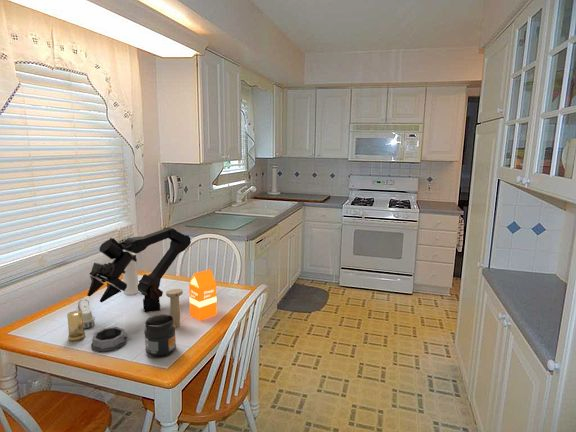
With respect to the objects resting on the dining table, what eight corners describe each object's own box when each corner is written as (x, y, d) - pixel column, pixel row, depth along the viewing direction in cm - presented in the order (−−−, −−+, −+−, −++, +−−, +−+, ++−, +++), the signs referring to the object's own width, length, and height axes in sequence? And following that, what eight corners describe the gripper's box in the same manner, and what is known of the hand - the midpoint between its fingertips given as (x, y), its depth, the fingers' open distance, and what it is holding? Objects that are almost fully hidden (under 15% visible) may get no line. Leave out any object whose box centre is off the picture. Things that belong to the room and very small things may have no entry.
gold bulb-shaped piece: (86, 333, 147) (84, 309, 145) (84, 340, 141) (81, 315, 140) (70, 335, 145) (67, 311, 143) (67, 342, 140) (64, 317, 138)
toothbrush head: (89, 296, 172) (94, 310, 151) (90, 311, 173) (95, 326, 151) (76, 299, 169) (79, 312, 148) (77, 313, 170) (80, 329, 149)
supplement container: (181, 345, 139) (180, 315, 137) (166, 361, 129) (165, 328, 127) (156, 341, 142) (154, 312, 139) (139, 356, 131) (137, 324, 129)
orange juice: (217, 314, 165) (216, 271, 161) (199, 321, 159) (198, 276, 155) (206, 309, 170) (205, 266, 167) (189, 315, 164) (188, 271, 160)
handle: (185, 326, 154) (184, 291, 151) (170, 330, 150) (168, 295, 147) (181, 321, 158) (179, 287, 155) (165, 325, 154) (164, 291, 151)
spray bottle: (123, 290, 189) (120, 242, 184) (138, 288, 192) (135, 241, 187) (124, 295, 183) (121, 246, 179) (138, 293, 186) (136, 244, 181)
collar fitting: (127, 333, 147) (127, 324, 146) (125, 349, 136) (125, 339, 135) (93, 338, 143) (93, 328, 142) (88, 354, 132) (88, 344, 131)
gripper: (92, 250, 153) (66, 283, 146) (117, 259, 143) (90, 295, 136) (112, 264, 161) (88, 296, 154) (137, 273, 150) (113, 308, 144)
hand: (94, 298), depth 147 cm, fingers open, 9 cm apart
